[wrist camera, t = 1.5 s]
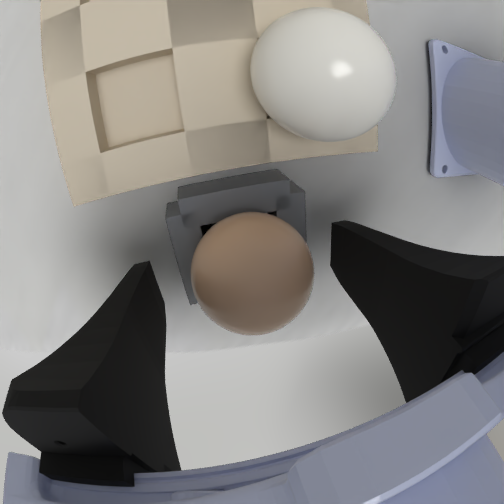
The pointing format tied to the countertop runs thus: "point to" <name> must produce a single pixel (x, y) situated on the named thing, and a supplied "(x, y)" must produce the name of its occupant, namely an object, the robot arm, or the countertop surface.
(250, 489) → the robot arm
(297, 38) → the white egg
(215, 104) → the carton
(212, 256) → the brown egg
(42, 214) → the countertop surface
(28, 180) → the countertop surface
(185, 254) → the egg stand
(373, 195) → the countertop surface
